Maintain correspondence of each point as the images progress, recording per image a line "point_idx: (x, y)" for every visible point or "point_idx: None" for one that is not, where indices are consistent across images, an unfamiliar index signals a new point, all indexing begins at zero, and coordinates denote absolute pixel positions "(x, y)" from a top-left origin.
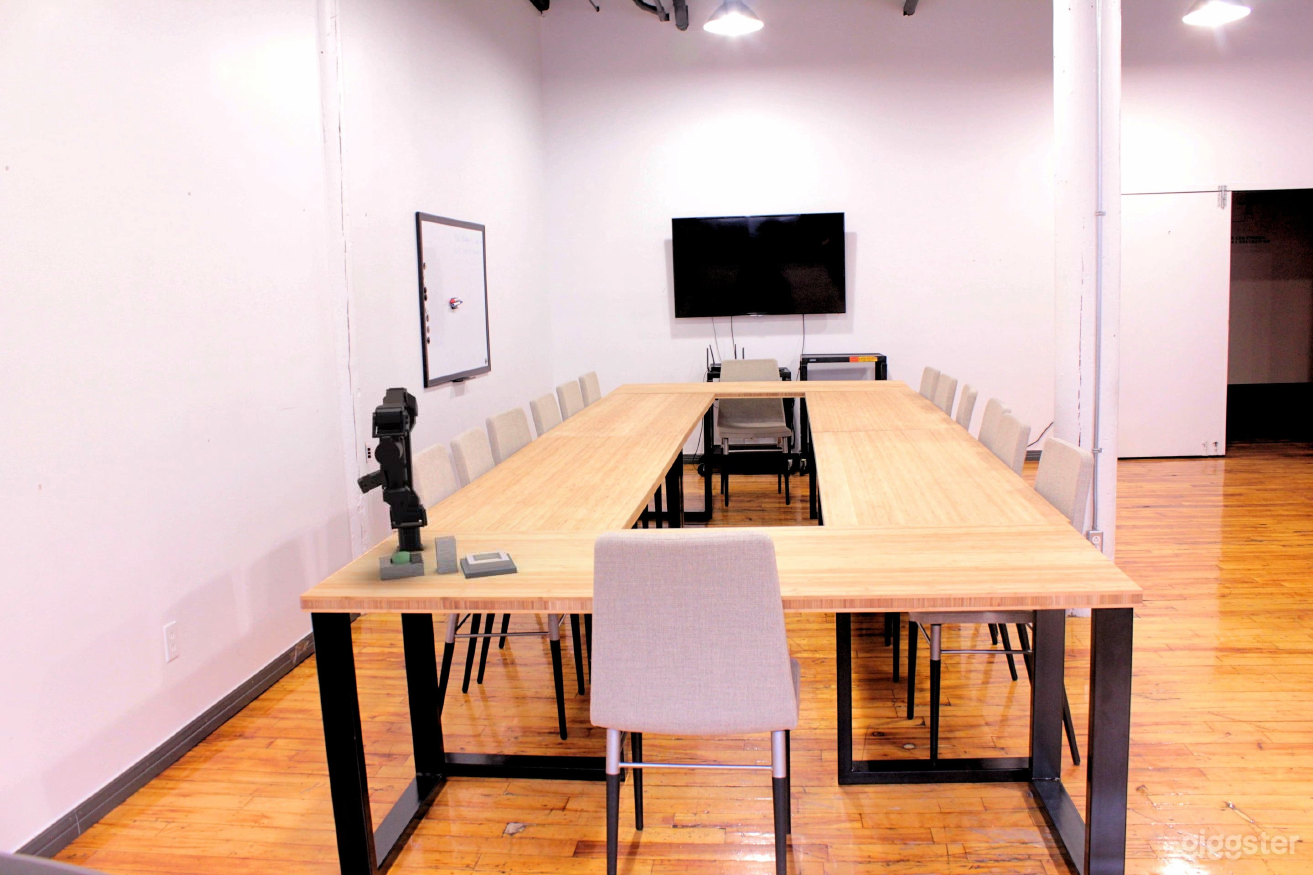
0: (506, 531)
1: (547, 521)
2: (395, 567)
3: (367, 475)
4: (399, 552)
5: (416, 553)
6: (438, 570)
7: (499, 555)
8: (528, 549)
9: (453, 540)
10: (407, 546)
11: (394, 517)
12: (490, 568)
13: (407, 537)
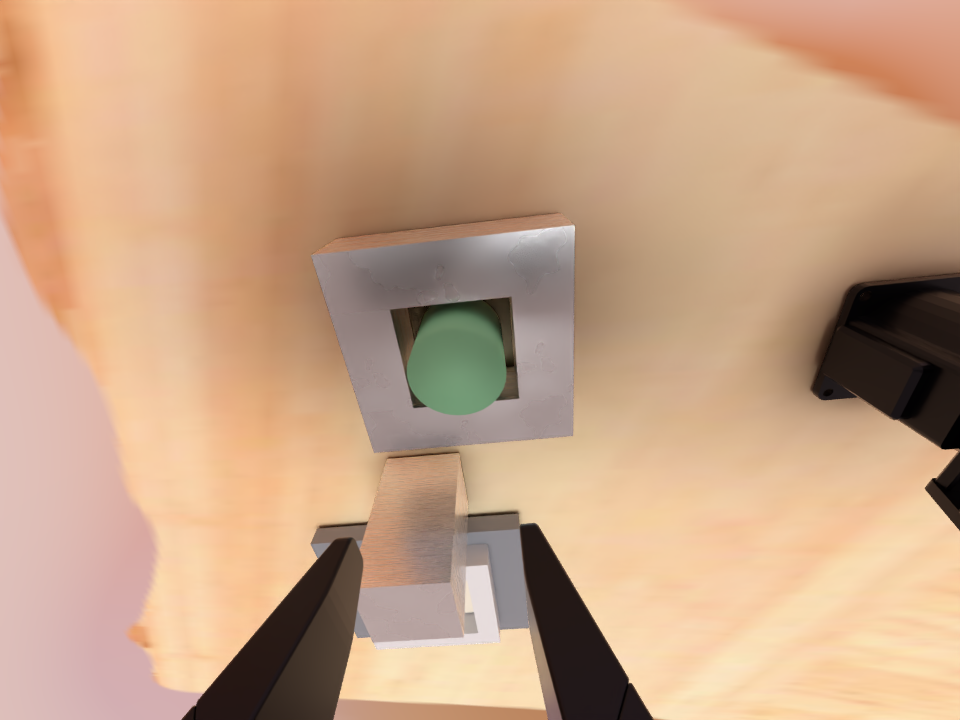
0: (879, 611)
1: (903, 679)
2: (339, 334)
3: None
4: (488, 367)
5: (565, 418)
6: (383, 471)
7: (468, 624)
8: (608, 642)
9: (370, 634)
10: (851, 346)
11: (259, 633)
12: None
13: (897, 376)
